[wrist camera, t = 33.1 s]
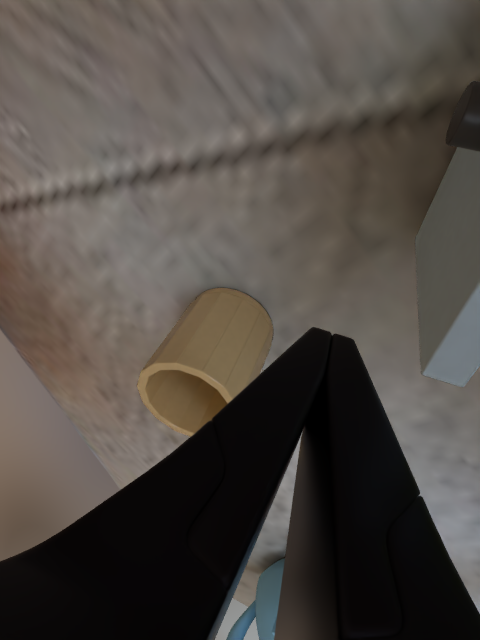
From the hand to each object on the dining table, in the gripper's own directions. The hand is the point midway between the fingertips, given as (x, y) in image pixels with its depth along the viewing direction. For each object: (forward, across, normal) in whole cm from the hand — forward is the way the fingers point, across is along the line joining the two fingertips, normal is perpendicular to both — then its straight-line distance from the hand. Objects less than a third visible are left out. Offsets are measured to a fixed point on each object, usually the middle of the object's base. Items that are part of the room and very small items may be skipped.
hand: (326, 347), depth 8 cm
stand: (+13, +5, +12) cm, 18 cm away
